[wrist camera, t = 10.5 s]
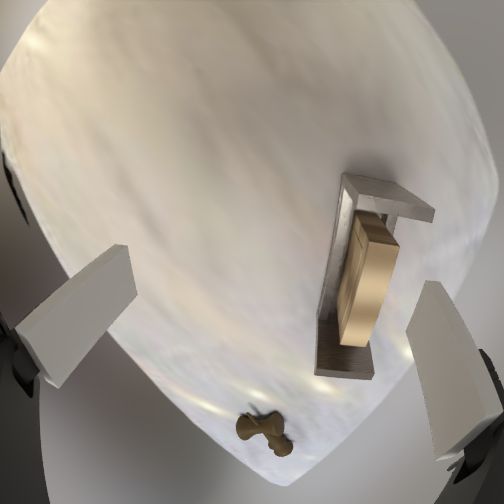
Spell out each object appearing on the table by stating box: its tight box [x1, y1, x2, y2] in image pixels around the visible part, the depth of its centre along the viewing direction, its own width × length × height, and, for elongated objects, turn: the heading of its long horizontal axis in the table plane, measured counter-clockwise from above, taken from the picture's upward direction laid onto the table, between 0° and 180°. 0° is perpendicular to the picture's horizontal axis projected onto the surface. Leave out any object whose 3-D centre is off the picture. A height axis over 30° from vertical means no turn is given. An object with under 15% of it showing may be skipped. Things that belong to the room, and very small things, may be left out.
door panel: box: [336, 211, 400, 347], centre depth 29 cm, size 12×3×10 cm, turn 177°
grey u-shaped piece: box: [314, 173, 435, 380], centre depth 29 cm, size 20×7×12 cm, turn 177°
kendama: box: [236, 412, 293, 457], centre depth 52 cm, size 6×10×20 cm
